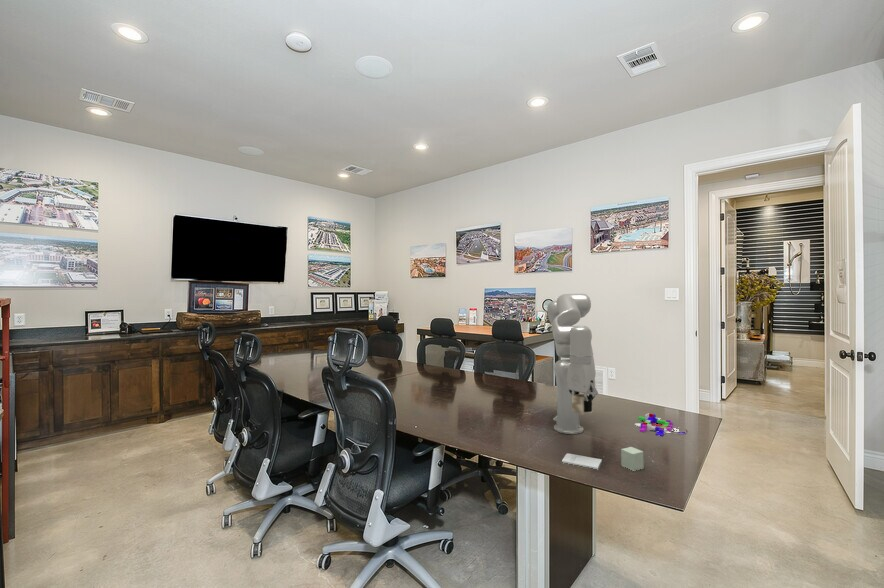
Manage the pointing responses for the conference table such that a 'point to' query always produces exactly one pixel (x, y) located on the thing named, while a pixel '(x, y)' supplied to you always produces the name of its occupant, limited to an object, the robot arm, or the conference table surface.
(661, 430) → the building block set
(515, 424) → the conference table surface
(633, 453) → the sage block
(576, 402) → the birch block
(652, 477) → the conference table surface
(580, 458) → the external hard drive
